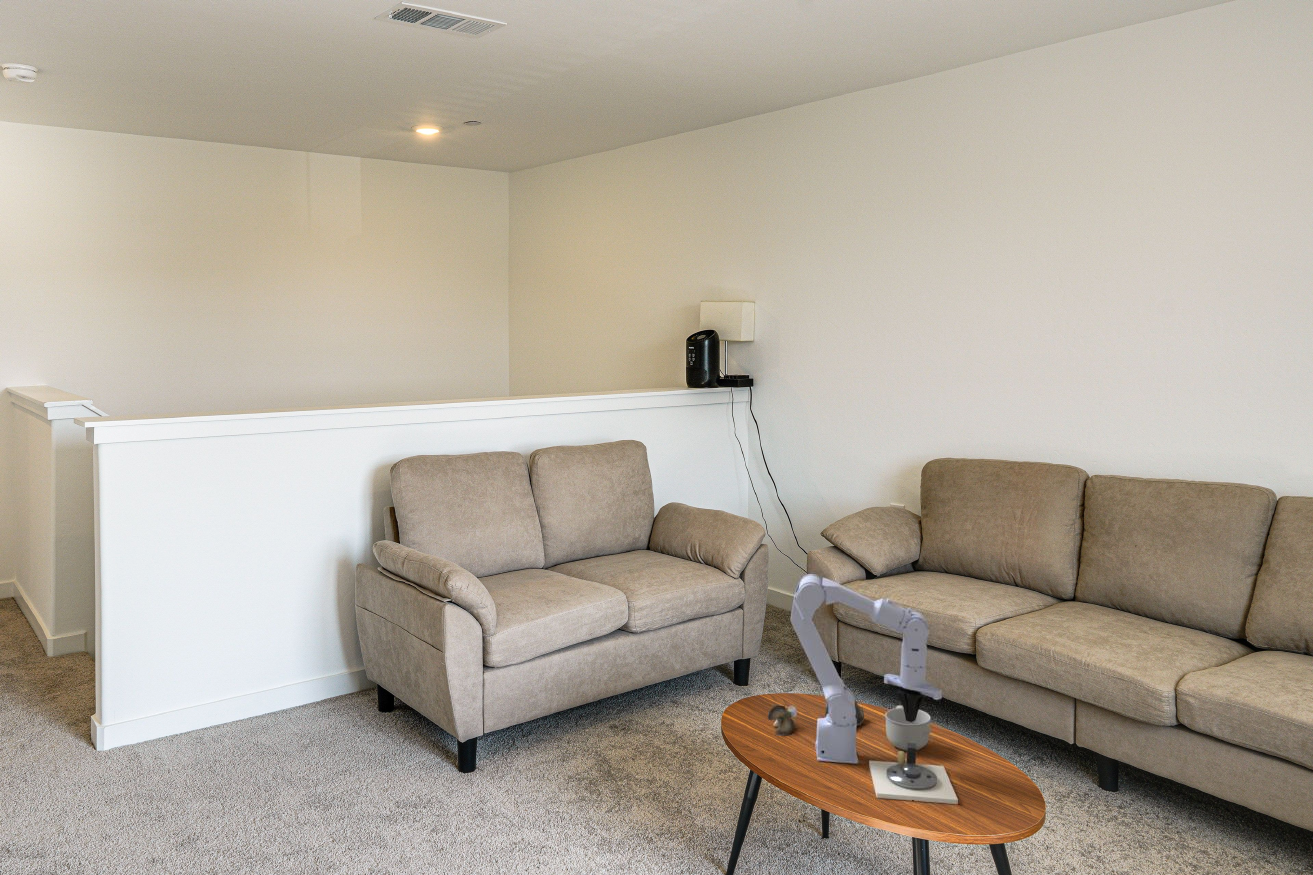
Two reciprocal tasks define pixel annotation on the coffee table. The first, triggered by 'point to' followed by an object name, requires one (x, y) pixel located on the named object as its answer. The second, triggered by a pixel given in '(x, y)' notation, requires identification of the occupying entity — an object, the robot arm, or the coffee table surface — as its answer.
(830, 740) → the robot arm
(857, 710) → the fossil
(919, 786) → the flange plate
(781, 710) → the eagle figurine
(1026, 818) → the coffee table surface
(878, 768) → the base plate
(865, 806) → the coffee table surface
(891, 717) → the teacup
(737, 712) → the coffee table surface
